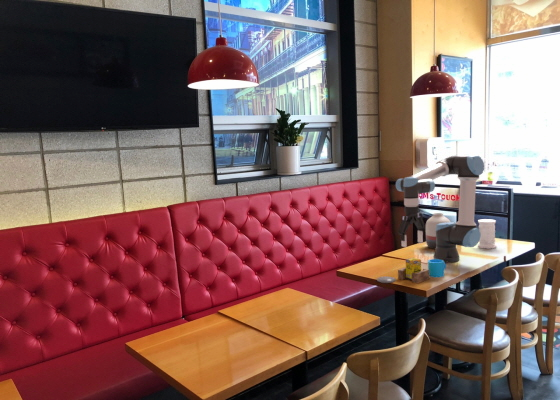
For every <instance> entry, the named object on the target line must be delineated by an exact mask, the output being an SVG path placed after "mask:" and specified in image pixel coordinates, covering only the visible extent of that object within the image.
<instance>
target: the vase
mask: <svg viewBox="0 0 560 400" xmlns="http://www.w3.org/2000/svg"><path fill="white" fill-rule="evenodd" d="M447 222H451V220H450V219H449V218H448V217H446V216H445V215H444V213H441V212H435V213H433V214H432V216H431V217H428V219H427V220H426V223H425V227H426V228H425V243H426V246H427V247H428V248H429V249H433V250H436V225H437V224H440V223H447Z"/></svg>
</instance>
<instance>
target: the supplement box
mask: <svg viewBox="0 0 560 400" xmlns="http://www.w3.org/2000/svg"><path fill="white" fill-rule="evenodd" d="M405 267H406V278H405V279H407V280H410V281H412V273H413V272H414V273H417V272H420V271H422V259H420V258H416V257H411V258H406V259H405Z"/></svg>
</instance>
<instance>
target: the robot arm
mask: <svg viewBox="0 0 560 400" xmlns="http://www.w3.org/2000/svg"><path fill="white" fill-rule="evenodd" d="M484 171H485V162H484V160H483V158H482V156H480V155H477V154H459V155H458V154H455V155H451V156H449V157H448V156H447V157H446V158H444V159H441V160H439V161H437V162H436V163H435V164H434V165H432V166H430V167H427V168H425V169H424V170H421V171H419V172H417V173H414V174H413V175H409V176H407V177H406V176H405V177H404V178H403V177H402V178H398V179H397V180H396V182H395V188H396V190H397V191H398V192H403V205H404V207H403V208H404V209H403V212H404V214H405V215H401V219H400V223H399V228H398V231H397V234H398V235H400V240H401V247H403V248H407V245H408V244H407V243H408V242H407V231H408V230H409V227H410V225H412V224H414V225H415V226H416V229H417V243H420V244H421V243H422V244H423V243H424V241H423V236H424V232H426V224H425V221H424V220H423V217H422V213H421V212H420V209H419V208H420V207H419V205H420V201H419V200H420V199H419V195H421V194H429V193H431V192H433V191H434V190H435V187H436V183H435V181H434V180H436V179H438V178H440V177H447V176H450V175H451V176H452V175H457V179H458V180H459V181H460V183H459V200H458V201H459V203H458V221H456V222H454V221H453V222H452V221H450V222H447V223H440V224H437V225H436V249H434V250H435V251H434V253H433V259H439V260H443V261H444V262H445V263H456V262H459V261H460V254H459V251H458V248H457V246H459V247H465V248H474V247H475V246H478V244H479V240H480V237H481V233H480V230H479V228H478V227H477V224H476V222H475V211H476V190H477V181H478V180H479V179H480V176H481V175H482V174H483V173H484Z"/></svg>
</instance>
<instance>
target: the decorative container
mask: <svg viewBox="0 0 560 400" xmlns="http://www.w3.org/2000/svg"><path fill="white" fill-rule="evenodd" d="M477 223H478V229H479V230H480V233H481V237H480V240H479V242H478V243H477V247H478V248H479V247H480V249H485V248H487V249H488V250H490V249H491V248H492V249H496V248H498V247H497V244H496V234H495V233H496V230H495V229H496V225H495V224H496V223H497V220H495V219H487V218H483V219H478V220H477Z"/></svg>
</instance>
